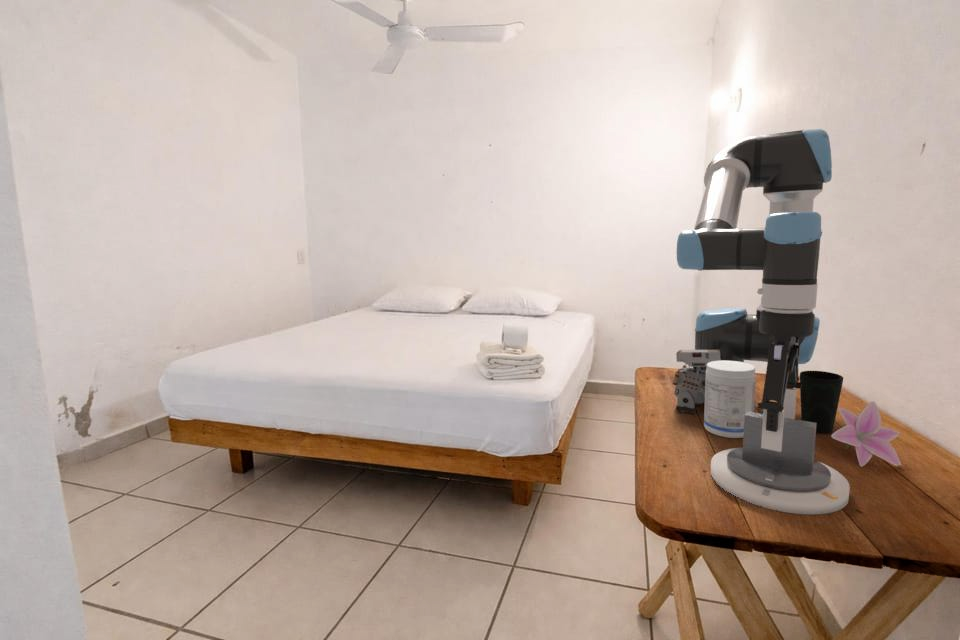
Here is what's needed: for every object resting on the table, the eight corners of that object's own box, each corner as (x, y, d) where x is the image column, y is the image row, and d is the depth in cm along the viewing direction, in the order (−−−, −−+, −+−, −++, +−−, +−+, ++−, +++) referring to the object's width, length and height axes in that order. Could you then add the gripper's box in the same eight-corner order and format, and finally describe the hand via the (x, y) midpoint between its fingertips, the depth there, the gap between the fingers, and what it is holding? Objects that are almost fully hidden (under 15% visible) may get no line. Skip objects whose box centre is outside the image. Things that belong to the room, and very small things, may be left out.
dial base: (726, 448, 97) (726, 438, 97) (851, 476, 85) (853, 464, 84) (696, 488, 82) (696, 476, 82) (844, 529, 70) (845, 515, 69)
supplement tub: (721, 420, 113) (724, 357, 110) (762, 433, 104) (766, 366, 102) (693, 429, 108) (696, 364, 106) (734, 443, 100) (737, 373, 98)
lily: (815, 463, 92) (843, 430, 86) (813, 422, 101) (837, 389, 95) (889, 492, 89) (922, 459, 83) (879, 446, 97) (909, 413, 91)
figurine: (720, 419, 113) (723, 356, 111) (669, 410, 120) (670, 350, 118) (727, 408, 121) (730, 348, 118) (679, 400, 127) (681, 343, 125)
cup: (797, 432, 104) (801, 377, 103) (794, 420, 111) (797, 369, 109) (841, 438, 101) (846, 381, 99) (835, 425, 108) (840, 372, 106)
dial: (737, 444, 94) (740, 399, 92) (834, 465, 84) (838, 415, 83) (716, 474, 82) (719, 423, 81) (825, 501, 73) (830, 444, 71)
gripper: (773, 301, 91) (766, 411, 94) (743, 317, 72) (736, 455, 75) (822, 303, 86) (813, 419, 89) (804, 321, 67) (794, 468, 70)
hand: (778, 436), depth 82 cm, fingers open, 13 cm apart
